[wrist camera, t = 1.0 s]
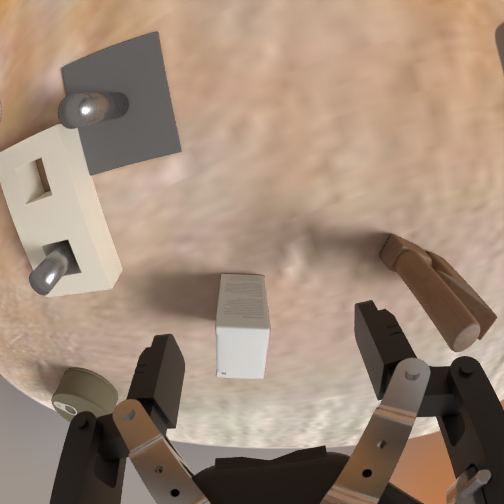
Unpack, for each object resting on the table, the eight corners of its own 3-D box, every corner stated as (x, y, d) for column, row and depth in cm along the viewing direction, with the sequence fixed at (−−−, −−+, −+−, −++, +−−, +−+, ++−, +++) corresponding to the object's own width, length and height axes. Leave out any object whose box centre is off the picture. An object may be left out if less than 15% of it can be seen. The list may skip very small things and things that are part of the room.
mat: (63, 67, 27) (62, 67, 27) (158, 32, 26) (157, 31, 26) (87, 176, 33) (86, 177, 33) (181, 151, 33) (181, 151, 32)
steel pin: (102, 96, 29) (55, 101, 20) (126, 88, 29) (84, 88, 20) (107, 121, 30) (62, 133, 21) (131, 114, 30) (91, 122, 21)
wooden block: (431, 278, 41) (495, 362, 25) (377, 255, 39) (442, 351, 23) (444, 257, 40) (515, 337, 24) (391, 231, 38) (467, 319, 22)
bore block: (13, 148, 31) (-7, 156, 27) (77, 119, 30) (57, 124, 26) (60, 279, 40) (46, 297, 36) (123, 269, 39) (111, 288, 35)
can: (118, 412, 55) (110, 438, 49) (65, 392, 53) (55, 417, 47) (120, 380, 50) (111, 410, 44) (61, 357, 48) (47, 384, 41)
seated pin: (64, 234, 37) (25, 273, 28) (81, 230, 36) (43, 269, 28) (71, 254, 38) (36, 296, 29) (89, 251, 38) (54, 293, 29)
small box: (260, 322, 44) (264, 380, 34) (220, 321, 43) (215, 379, 34) (265, 273, 40) (272, 329, 31) (220, 271, 40) (214, 327, 30)
